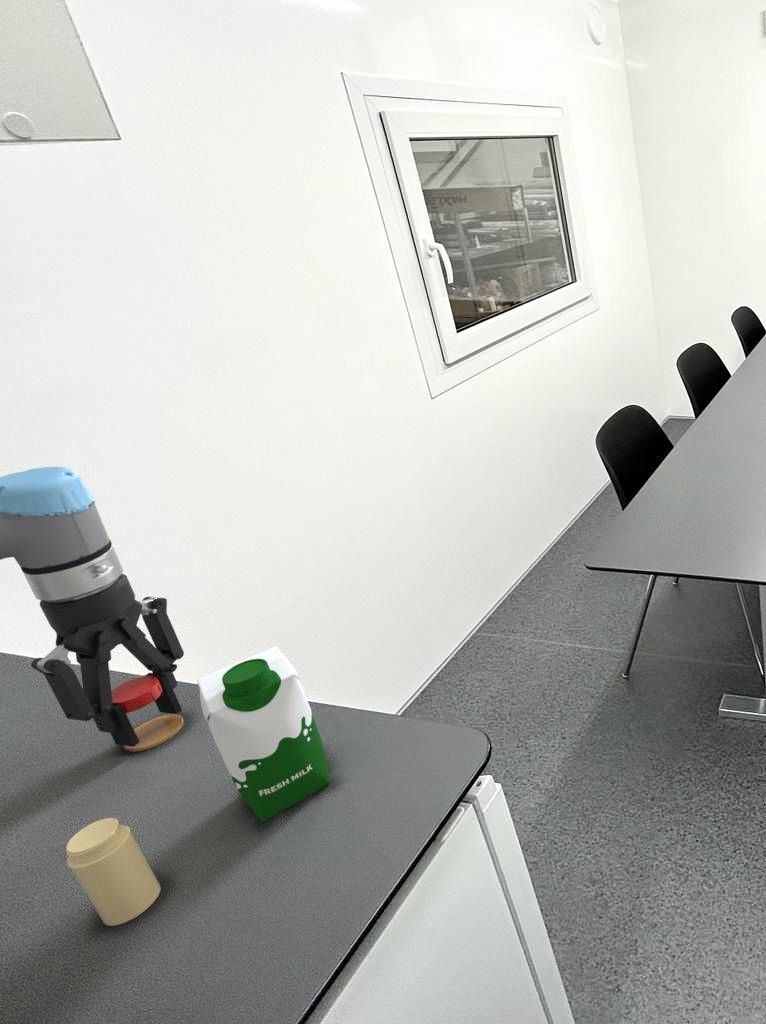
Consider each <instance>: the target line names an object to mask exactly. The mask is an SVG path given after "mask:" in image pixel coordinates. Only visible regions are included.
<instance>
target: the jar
mask: <svg viewBox="0 0 766 1024" xmlns="http://www.w3.org/2000/svg"><path fill="white" fill-rule="evenodd" d="M65 849H66V850H65V852H66V856H68V857H67V860H66V864H67V866H68V868H69V870H70V871H71V873H72V874H73V876H74V878H75V879H76V881H77V882H78V884H79V885H80V887H81V889H82V890H83V892H84V894H85V895H86V897H87V898H88V900H89V902H90V903H91V905H92V907H93V908H94V910H95V911H96V913H97V915H98V916H99V918H100V919H101V921H102V923H103V924H104V925H106V926H109V927H113V926H119V925H123V924H125V923H127V922H129V921H131V920H133V919H135V918H137V917H138V916H140V915H141V914H142V913H144V912H146V910H148V909H149V908H150V907H151V906H152V905H153V904H154V903H155V901H156V900H157V898H158V897H159V895H160V893H161V889H162V887H161V884H160V882H159V880H158V878H157V877H156V874H155V873H154V871H153V869H152V867H151V866H150V863H149V862H148V860H147V858H146V856H145V854H144V853H143V851H142V849H141V847H140V846H139V844H138V842H137V840H136V838H135V836H134V835H133V833H132V830H131V829H130V828H129V826H127V825H125V824H121V823H120V822H119V820H118V819H117V818H114V817H106V818H102V819H99V820H96V821H94V822H92V823H90V824H88V825H86V826H85V827H83V828H82V829H80V830H79V831H77V832H76V833H74V835H73V836H72V837H71V838H70V839H69V840H68V842H67V844H66V847H65Z"/></svg>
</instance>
